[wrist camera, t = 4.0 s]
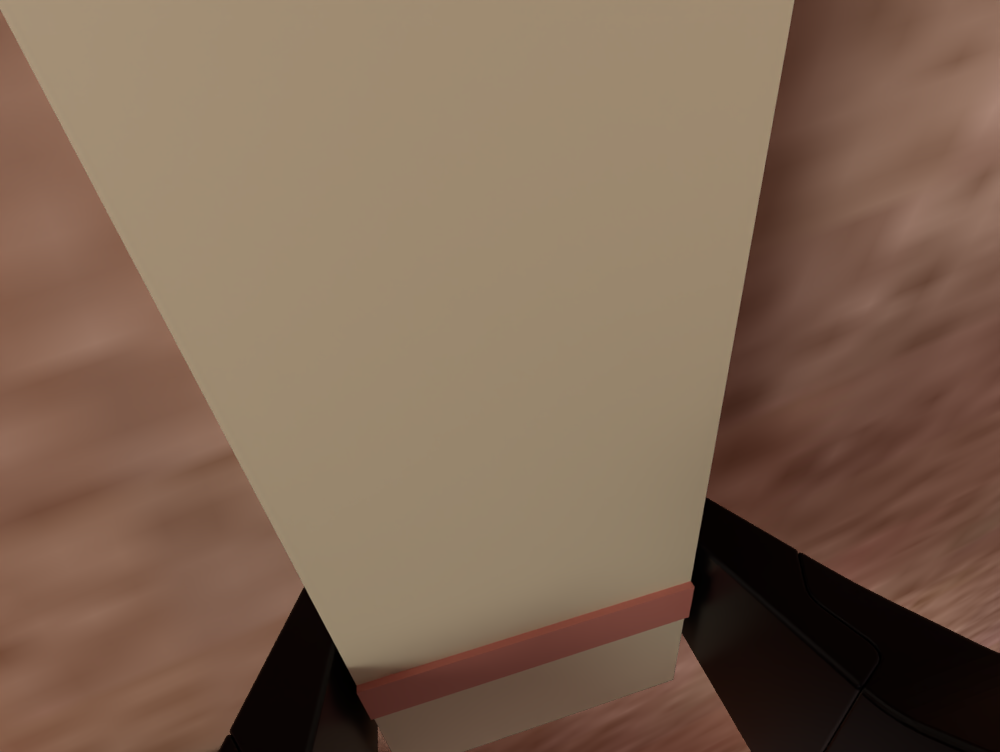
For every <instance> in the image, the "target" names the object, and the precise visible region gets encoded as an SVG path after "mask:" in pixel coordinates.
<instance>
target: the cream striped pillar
mask: <svg viewBox="0 0 1000 752" xmlns="http://www.w3.org/2000/svg"><path fill="white" fill-rule="evenodd" d="M793 6H794V0H0V10H1V12H2V13H3V15H4V17H5V19H6V21H7V23H8V25H9V27H10V29H11V30H12V32H13V34H14V36H15V38H16V40H17V42H18V44H19V46H20V48H21V49H22V51H23V53H24V55H25V57H26V59H27V61H28V63H29V65H30V67H31V68H32V70H33V72H34V74H35V76H36V78H37V80H38V82H39V84H40V86H41V87H42V89H43V91H44V93H45V95H46V97H47V99H48V101H49V103H50V105H51V106H52V108H53V110H54V112H55V114H56V116H57V118H58V120H59V122H60V123H61V125H62V127H63V129H64V131H65V133H66V135H67V137H68V139H69V141H70V142H71V144H72V146H73V148H74V150H75V152H76V154H77V156H78V158H79V160H80V161H81V163H82V165H83V167H84V169H85V171H86V173H87V175H88V177H89V179H90V180H91V182H92V184H93V186H94V188H95V190H96V192H97V194H98V196H99V198H100V199H101V201H102V203H103V205H104V207H105V209H106V211H107V213H108V215H109V217H110V218H111V220H112V222H113V224H114V226H115V228H116V230H117V232H118V234H119V235H120V237H121V239H122V241H123V243H124V245H125V247H126V249H127V251H128V253H129V254H130V256H131V258H132V260H133V262H134V264H135V266H136V268H137V270H138V272H139V273H140V275H141V277H142V279H143V281H144V283H145V285H146V287H147V289H148V291H149V292H150V294H151V296H152V298H153V300H154V302H155V304H156V306H157V308H158V310H159V311H160V313H161V315H162V317H163V319H164V321H165V323H166V325H167V327H168V328H169V330H170V332H171V334H172V336H173V338H174V340H175V342H176V344H177V346H178V347H179V349H180V351H181V353H182V355H183V357H184V359H185V361H186V363H187V365H188V366H189V368H190V370H191V372H192V374H193V376H194V378H195V380H196V382H197V384H198V385H199V387H200V389H201V391H202V393H203V395H204V397H205V399H206V401H207V403H208V404H209V406H210V408H211V410H212V412H213V414H214V416H215V418H216V420H217V422H218V423H219V425H220V427H221V429H222V431H223V433H224V435H225V437H226V439H227V440H228V442H229V444H230V446H231V448H232V450H233V452H234V454H235V456H236V458H237V459H238V461H239V463H240V465H241V467H242V469H243V471H244V473H245V475H246V477H247V478H248V480H249V482H250V484H251V486H252V488H253V490H254V492H255V494H256V496H257V497H258V499H259V501H260V503H261V505H262V507H263V509H264V511H265V513H266V515H267V516H268V518H269V520H270V522H271V524H272V526H273V528H274V530H275V532H276V533H277V535H278V537H279V539H280V541H281V543H282V545H283V547H284V549H285V551H286V552H287V554H288V556H289V558H290V560H291V562H292V564H293V566H294V568H295V570H296V571H297V573H298V575H299V577H300V579H301V581H302V583H303V585H304V587H305V589H306V590H307V592H308V594H309V596H310V598H311V600H312V602H313V604H314V606H315V608H316V609H317V611H318V613H319V615H320V617H321V619H322V621H323V623H324V625H325V627H326V628H327V630H328V632H329V634H330V636H331V638H332V640H333V642H334V644H335V645H336V647H337V649H338V651H339V653H340V655H341V657H342V659H343V661H344V663H345V664H346V666H347V668H348V670H349V672H350V674H351V676H352V678H353V680H354V682H355V683H356V685H357V695H358V696H359V698H360V700H361V702H362V704H363V706H364V708H365V710H366V711H367V713H368V715H369V717H370V719H371V720H373V719H374V720H375V721H376V723H377V725H378V727H379V729H380V731H381V733H382V735H383V737H384V738H385V740H386V742H387V744H388V746H389V748H390V750H391V752H465V751H468V750H471V749H473V748H476V747H479V746H482V745H485V744H488V743H491V742H494V741H497V740H500V739H502V738H505V737H508V736H511V735H514V734H517V733H520V732H523V731H526V730H529V729H532V728H534V727H537V726H540V725H543V724H546V723H549V722H552V721H555V720H558V719H561V718H564V717H566V716H569V715H572V714H575V713H578V712H581V711H584V710H587V709H590V708H593V707H596V706H598V705H601V704H604V703H607V702H610V701H613V700H616V699H619V698H622V697H625V696H627V695H630V694H633V693H636V692H639V691H642V690H645V689H648V688H651V687H654V686H657V685H659V684H662V683H665V682H668V681H671V680H673V678H674V672H675V666H676V661H677V655H678V650H679V644H680V638H681V633H682V627H683V622H684V618H687V617H689V614H690V608H691V603H692V598H693V592H694V585H693V584H692V582H691V577H692V571H693V566H694V560H695V554H696V549H697V543H698V538H699V532H700V526H701V521H702V515H703V510H704V504H705V498H706V493H707V487H708V482H709V476H710V470H711V465H712V459H713V454H714V448H715V442H716V437H717V431H718V426H719V420H720V414H721V409H722V403H723V398H724V392H725V386H726V381H727V375H728V370H729V364H730V358H731V353H732V347H733V342H734V336H735V330H736V325H737V319H738V314H739V308H740V302H741V297H742V291H743V286H744V280H745V274H746V269H747V263H748V258H749V252H750V246H751V241H752V235H753V230H754V224H755V218H756V213H757V207H758V202H759V196H760V190H761V185H762V179H763V174H764V168H765V162H766V157H767V151H768V146H769V140H770V134H771V129H772V123H773V118H774V112H775V106H776V101H777V95H778V90H779V84H780V78H781V73H782V67H783V62H784V56H785V50H786V45H787V39H788V34H789V28H790V22H791V17H792V11H793Z"/></svg>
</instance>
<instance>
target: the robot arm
mask: <svg viewBox="0 0 1000 752" xmlns="http://www.w3.org/2000/svg"><path fill="white" fill-rule="evenodd" d="M691 582H692V584H693V585H694V592H693V598H692V603H691V608H690V614H689V617H687V618H684V622H683V627H682V634H683V636H684V637H685V639H686V641H687V643H688V644H689V646H690V648H691V649H692V651H693V653H694V655H695V656H696V658H697V660H698V661H699V663H700V665H701V667H702V668H703V670H704V672H705V673H706V675H707V677H708V678H709V680H710V682H711V684H712V685H713V687H714V689H715V690H716V692H717V694H718V696H719V697H720V699H721V701H722V702H723V704H724V706H725V708H726V709H727V711H728V713H729V714H730V716H731V718H732V720H733V721H734V723H735V725H736V726H737V728H738V730H739V732H740V733H741V735H742V737H743V738H744V740H745V742H746V744H747V745H748V747H749V749H750V750H751V752H1000V653H998V652H995V651H993V650H991V649H989V648H987V647H984V646H982V645H980V644H978V643H976V642H974V641H972V640H970V639H968V638H966V637H963V636H961V635H959V634H957V633H955V632H953V631H951V630H949V629H947V628H945V627H943V626H941V625H939V624H937V623H935V622H933V621H931V620H929V619H927V618H925V617H923V616H920V615H918V614H916V613H914V612H912V611H910V610H908V609H906V608H904V607H902V606H900V605H898V604H896V603H894V602H892V601H890V600H888V599H886V598H884V597H882V596H880V595H878V594H876V593H874V592H872V591H870V590H868V589H866V588H864V587H862V586H860V585H858V584H856V583H854V582H853V581H851V580H849V579H847V578H845V577H844V576H842V575H840V574H838V573H836V572H835V571H833V570H831V569H829V568H827V567H826V566H824V565H822V564H820V563H819V562H817V561H815V560H813V559H812V558H810V557H808V556H807V555H805V554H803V553H798V552H797V550H796V549H794V548H792V547H791V546H789V545H787V544H786V543H784V542H782V541H780V540H779V539H777V538H775V537H774V536H772V535H770V534H768V533H767V532H765V531H763V530H761V529H760V528H758V527H756V526H755V525H753V524H751V523H749V522H748V521H746V520H744V519H743V518H741V517H739V516H737V515H736V514H734V513H732V512H731V511H729V510H727V509H725V508H724V507H722V506H720V505H718V504H717V503H715V502H713V501H712V500H710V499H708V498H705V504H704V510H703V515H702V521H701V526H700V532H699V538H698V543H697V549H696V554H695V560H694V566H693V571H692V577H691ZM230 733H231V735H227V736H226V738H225V740H224V742H223V744H222V746H221V748H220V750H219V751H218V752H378V725H377V723H376V721H375V720H374V719H373V720H371V719H370V717H369V715H368V713H367V711H366V710H365V708H364V706H363V704H362V702H361V700H360V698H359V696H358V695H357V685H356V683H355V682H354V680H353V678H352V676H351V674H350V672H349V670H348V668H347V666H346V664H345V663H344V661H343V659H342V657H341V655H340V653H339V651H338V649H337V647H336V645H335V644H334V642H333V640H332V638H331V636H330V634H329V632H328V630H327V628H326V627H325V625H324V623H323V621H322V619H321V617H320V615H319V613H318V611H317V609H316V608H315V606H314V604H313V602H312V600H311V598H310V596H309V594H308V592H307V590H306V589H305V587H304V588H303V590H302V592H301V594H300V596H299V598H298V600H297V602H296V603H295V605H294V607H293V609H292V611H291V613H290V615H289V617H288V619H287V621H286V623H285V625H284V627H283V629H282V630H281V632H280V634H279V636H278V638H277V640H276V642H275V644H274V646H273V648H272V650H271V652H270V654H269V656H268V657H267V659H266V661H265V663H264V665H263V667H262V669H261V671H260V673H259V675H258V677H257V679H256V681H255V683H254V684H253V686H252V688H251V690H250V692H249V694H248V696H247V698H246V700H245V702H244V704H243V706H242V708H241V710H240V711H239V713H238V715H237V717H236V719H235V721H234V723H233V725H232V727H231V729H230Z"/></svg>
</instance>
